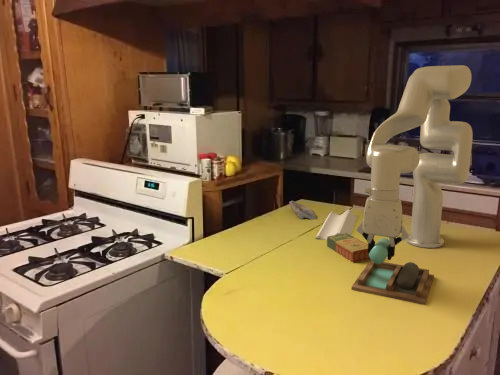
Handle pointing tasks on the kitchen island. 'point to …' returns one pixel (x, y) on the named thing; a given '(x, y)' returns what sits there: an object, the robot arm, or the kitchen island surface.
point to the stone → (302, 210)
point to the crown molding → (337, 224)
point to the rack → (392, 282)
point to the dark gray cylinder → (408, 276)
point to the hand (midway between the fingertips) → (380, 256)
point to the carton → (348, 247)
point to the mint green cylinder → (379, 251)
